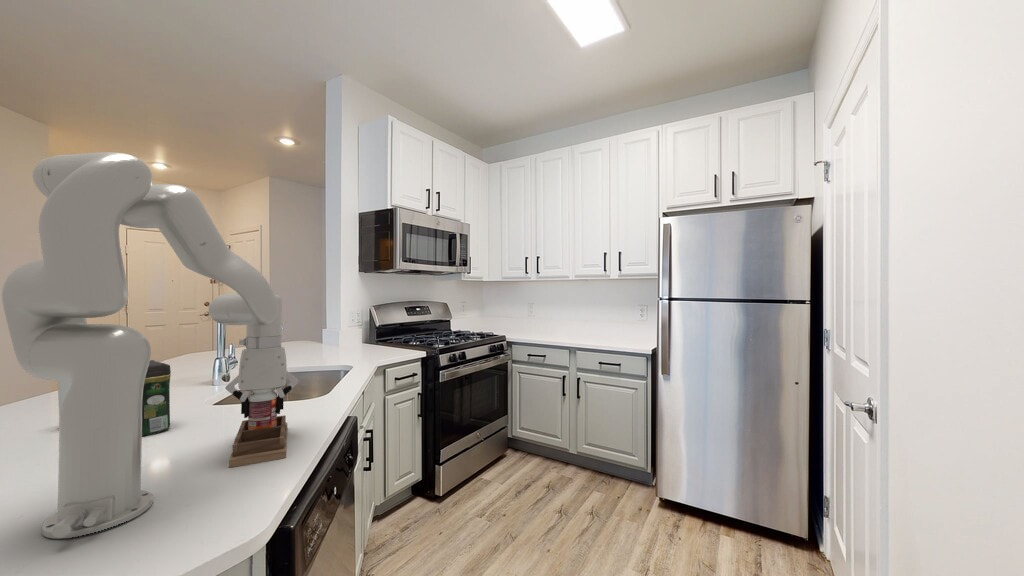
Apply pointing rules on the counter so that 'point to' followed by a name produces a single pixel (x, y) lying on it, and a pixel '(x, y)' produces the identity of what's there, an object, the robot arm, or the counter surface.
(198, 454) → the counter surface
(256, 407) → the pill bottle
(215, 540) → the counter surface
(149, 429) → the coffee jar
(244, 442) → the caddy
